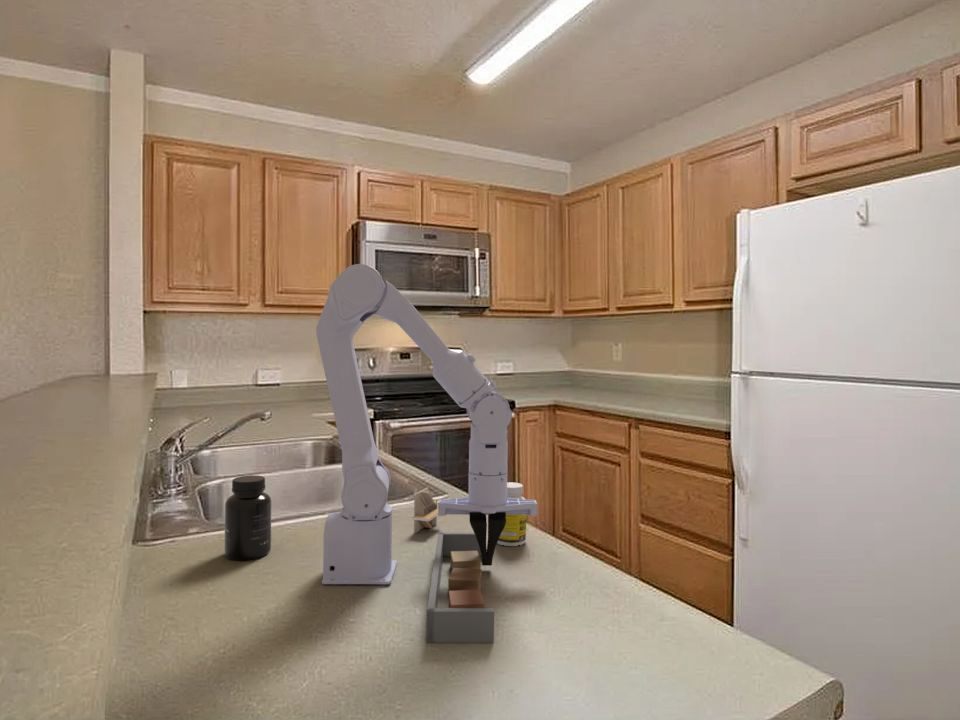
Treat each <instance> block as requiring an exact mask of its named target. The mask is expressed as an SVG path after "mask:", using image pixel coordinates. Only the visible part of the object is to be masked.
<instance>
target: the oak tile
mask: <svg viewBox="0 0 960 720" xmlns="http://www.w3.org/2000/svg"><path fill="white" fill-rule="evenodd" d="M480 557H481V556H479V555H478V552H477V551H452V552H451V556H450V566H449V567H450V571H451V572H452V570H453V568H467V569H481V566H482V559H481V558H480Z"/></svg>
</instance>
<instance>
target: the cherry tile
mask: <svg viewBox="0 0 960 720" xmlns="http://www.w3.org/2000/svg"><path fill="white" fill-rule="evenodd" d="M448 608H485V601H484V597H483V594H482V589H481V590H457V591H449V596H448Z"/></svg>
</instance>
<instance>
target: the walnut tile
mask: <svg viewBox="0 0 960 720" xmlns="http://www.w3.org/2000/svg"><path fill="white" fill-rule="evenodd" d="M482 576H483V570H482V569H467V568H453V570H452V571H451V573H450V575H449V577H448V591H447V594H448V595H447V596H448V597H449V591H457V590H481V591H482V585H483V581H482V580H483V579H482V578H483V577H482Z"/></svg>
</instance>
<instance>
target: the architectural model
mask: <svg viewBox="0 0 960 720" xmlns="http://www.w3.org/2000/svg"><path fill="white" fill-rule="evenodd" d="M413 497H414V498H413V500H414V502H413V517H412V520H413V534H414V533H415V534H416V533H418V532H420V531H421V530H422V529H425V528H426V529H433V526H435V525H436V526H437V525H438V524H437V523H438V519H437V518H438V517H439V516H438V500H436V501H434V498H433V497H432V494H431V493H430V492H429V487H426V488H423V489H422V490H420V491H418V492H416V493H414V494H413ZM423 527H425V528H423ZM420 529H421V530H420ZM417 531H418V532H417Z"/></svg>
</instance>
